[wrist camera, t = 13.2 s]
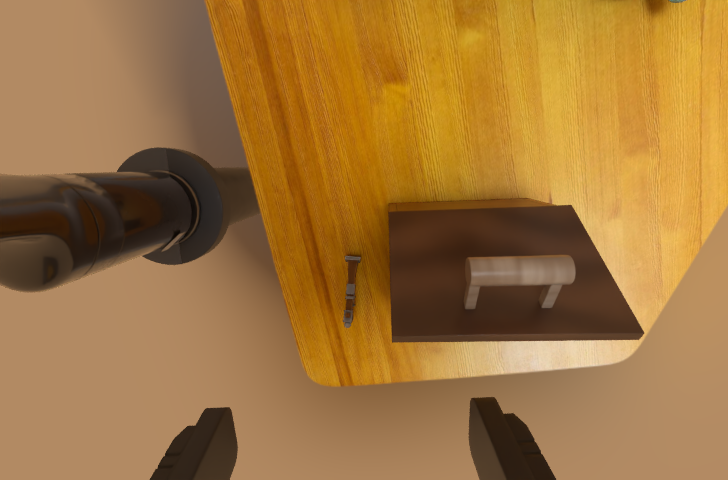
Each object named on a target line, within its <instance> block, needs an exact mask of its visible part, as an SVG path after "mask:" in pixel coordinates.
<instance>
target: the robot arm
mask: <svg viewBox="0 0 728 480" xmlns="http://www.w3.org/2000/svg"><path fill="white" fill-rule="evenodd" d="M200 220H201V203H200V199H199V197H198V194H197V192H196V191H195V189H194V188H193V186H192V185H191V184H190V183H189V182H188V181H187V180H186V179H185V178H183V177H182V176H180V175H178V174H176V173H174V172H171V171H165V170H155V171H148V172H109V173H74V174H46V175H7V174H0V285H1V286H4V287H6V288H9V289H12V290H16V291H20V292H42V291H47V290H50V289H54V288H57V287H60V286H63V285H65V284H68V283H70V282H73V281H75V280H78V279H81V278H84V277H86V276H89V275H92V274H94V273H97V272H100V271H102V270H105V269H107V268H110V267H113V266H116V265H118V264H121V263H124V262H127V261H129V260H132V259H135V258H137V257H140V256H143V255H146V254H148V253H151V252H154V251H156V250H159V249H162V248H164V249H163V250H162V251H165V250H167V249H169V248H170V247H171V246H172V245H175V244H178V243H181V242H183V241H185V240H187V239H188V238H190V237H191V236H192V235H193V234H194V232H195V231H196V230H197V228H198V226H199V223H200ZM162 251H161V252H162ZM469 445H470V451H471V455H472V458H473V461H474V464H475V467H476V470H477V473H478V476H479V479H480V480H556V478H555V476H554V475H553V473H552V471H551V469H550V467H549V466H548V464H547V462H546V460H545V458H544V456H543V455H542V454H541V451H540V449H539V447H538V445H537V444H536V442H535V441H534V438H533V436H532V434H531V433H530V431H529V429H528V427H527V425H526V424H524V423H523V422H522V421H521V420H520V419H519V418H518V417H517V416H515V414H513V413H511V414H503V412H502V410H501V408H500V406H499V404H498V402H497V400H496V399H495V398H494V397H486V398H471V401H470V418H469ZM237 448H238V447H237V439H236V433H235V428H234V422H233V417H232V412H231V409H230V408H229V407H225V408H206V409H205V410H204V412H203V413H202V415H201V417H200V418H199V420H198V422H197V424H196V426H187V427H186V428H185V429H184V430H183V431H182V432H181V433H180V434H179V435H178V436H177V437H175V439H174V440H173V441H172V443H171V445H170V446H169V448H168V450H167V451H166V453H165V456H164V457H163V458H162V460H161V462H160V463H159V465H158V469H156V470H155V472H154V473H153V475H152V477H151V478H150V480H230V477H231V474H232V472H233V469H234V466H235V463H236V459H237Z"/></svg>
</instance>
